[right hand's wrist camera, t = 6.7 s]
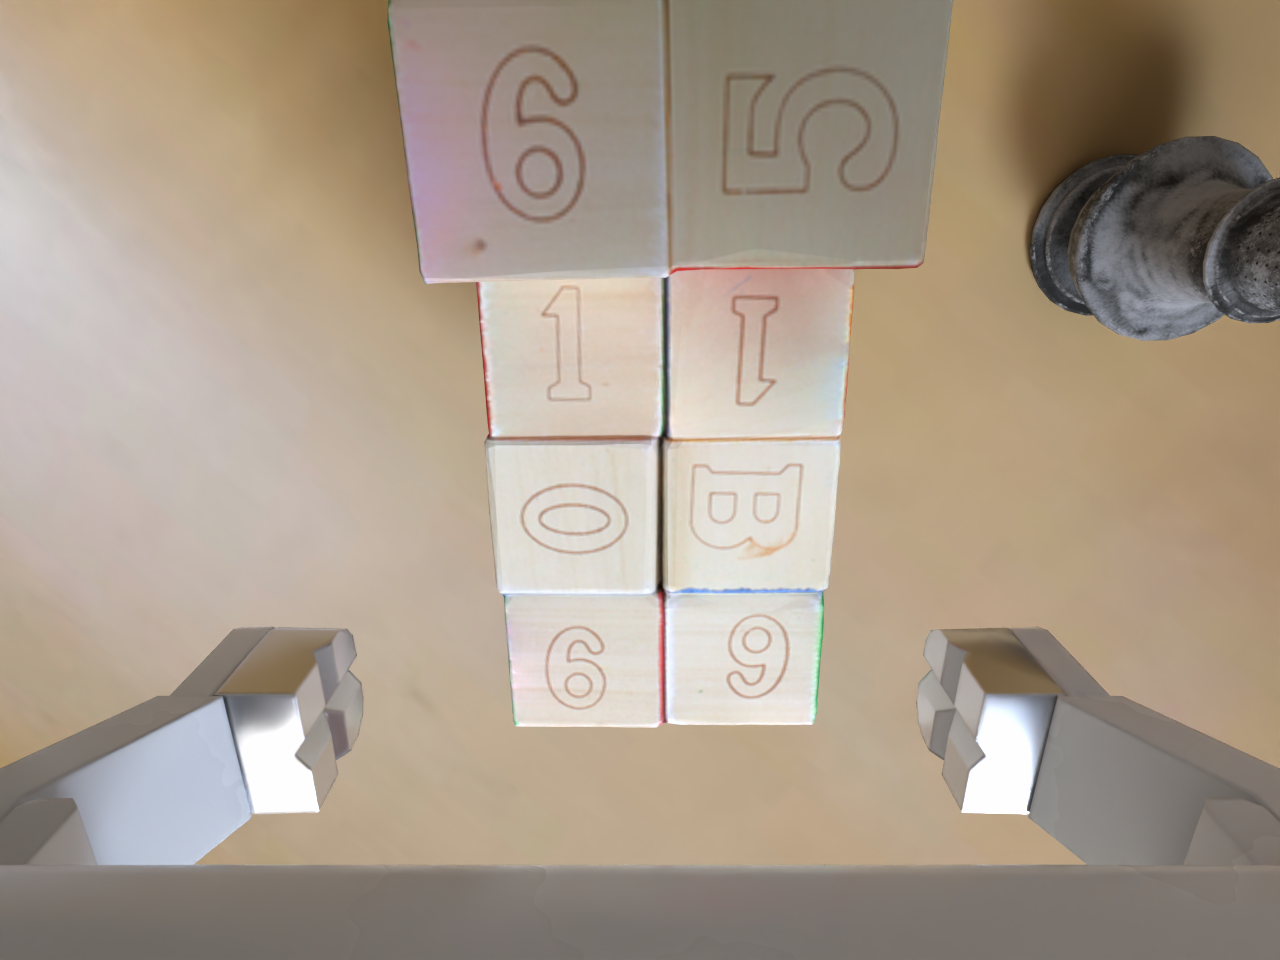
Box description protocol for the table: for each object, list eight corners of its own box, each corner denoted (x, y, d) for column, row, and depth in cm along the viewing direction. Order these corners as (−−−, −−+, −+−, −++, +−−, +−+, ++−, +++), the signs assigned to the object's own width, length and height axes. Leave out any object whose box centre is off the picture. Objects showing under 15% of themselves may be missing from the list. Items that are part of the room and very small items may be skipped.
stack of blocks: (753, 535, 23) (855, 861, 12) (556, 535, 23) (467, 859, 12) (804, -374, 16) (1225, -1908, 4) (511, -370, 16) (150, -1868, 4)
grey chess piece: (985, 256, 26) (1247, 299, 15) (1116, 104, 24) (1527, 20, 13) (1099, 355, 27) (1424, 466, 16) (1232, 218, 25) (1701, 232, 14)
